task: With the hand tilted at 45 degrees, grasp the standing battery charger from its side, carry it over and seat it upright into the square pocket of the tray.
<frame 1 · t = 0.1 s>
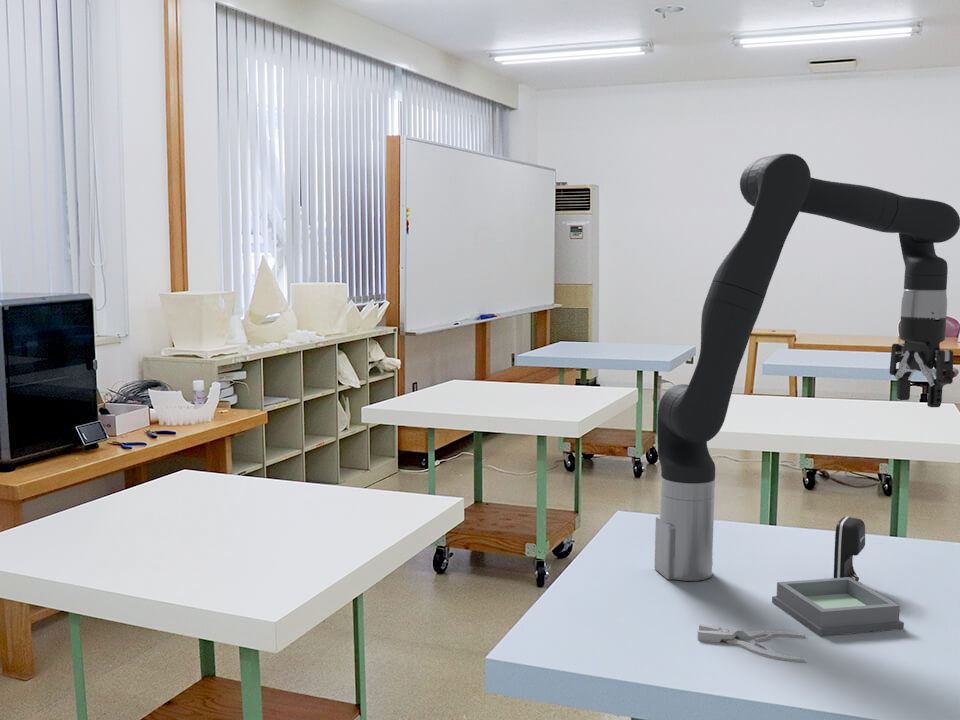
hand: (918, 403, 174), 29 cm above the table, tool pointing down, fingers open, 8 cm apart
tray: (835, 615, 149), on the table
battery charger: (848, 586, 163), on the table
pliers: (750, 645, 139), on the table
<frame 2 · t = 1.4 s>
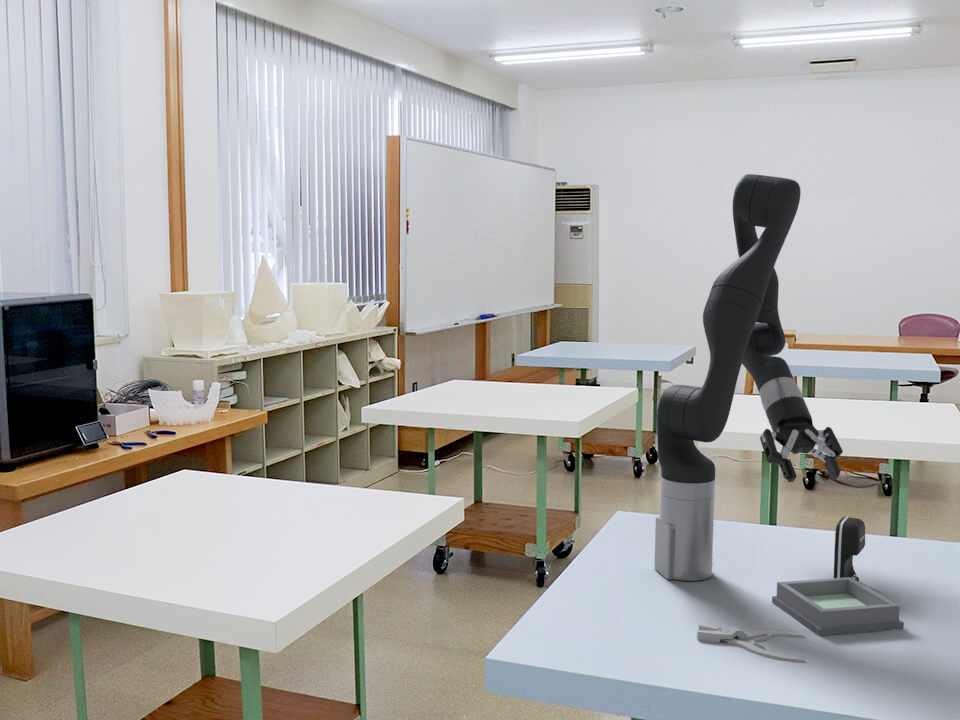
hand: (814, 478, 173), 16 cm above the table, tool tilted 45°, fingers open, 8 cm apart
nothing on the table moved.
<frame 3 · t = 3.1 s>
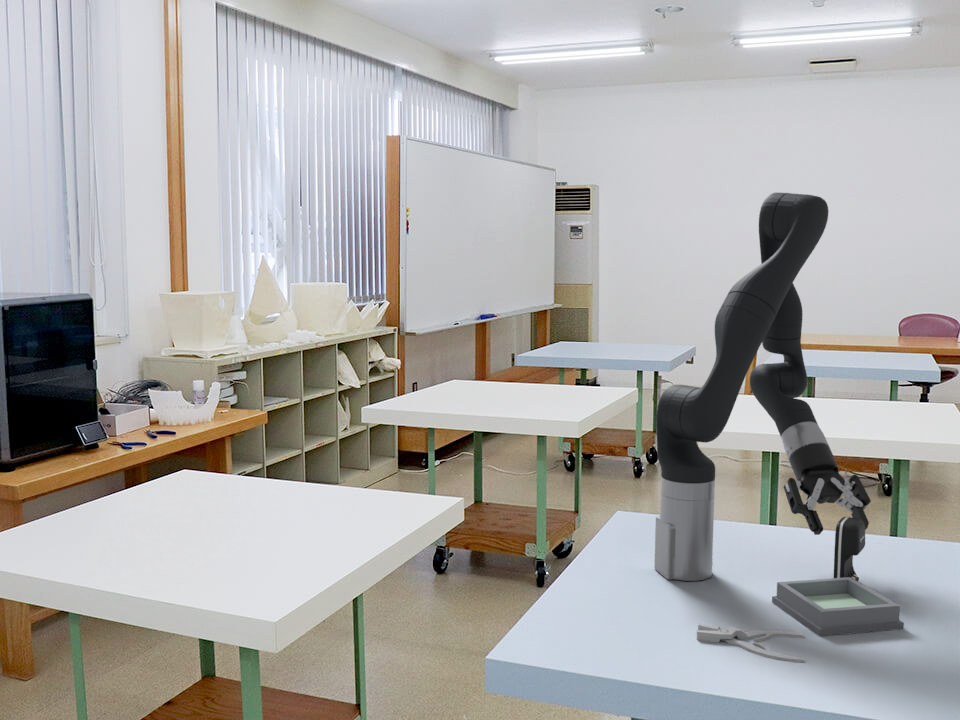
hand: (841, 531, 165), 9 cm above the table, tool tilted 45°, fingers open, 8 cm apart
nothing on the table moved.
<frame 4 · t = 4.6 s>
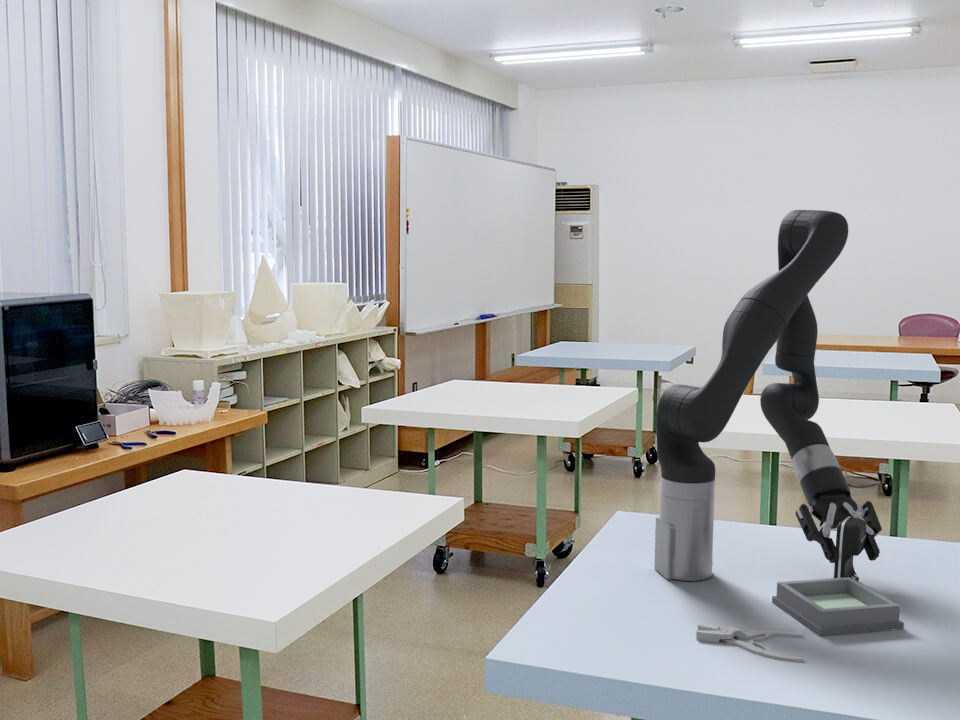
hand: (855, 559, 161), 5 cm above the table, tool tilted 45°, fingers closed on battery charger, 7 cm apart
battery charger: (848, 586, 163), on the table, touching gripper
everything else where it was.
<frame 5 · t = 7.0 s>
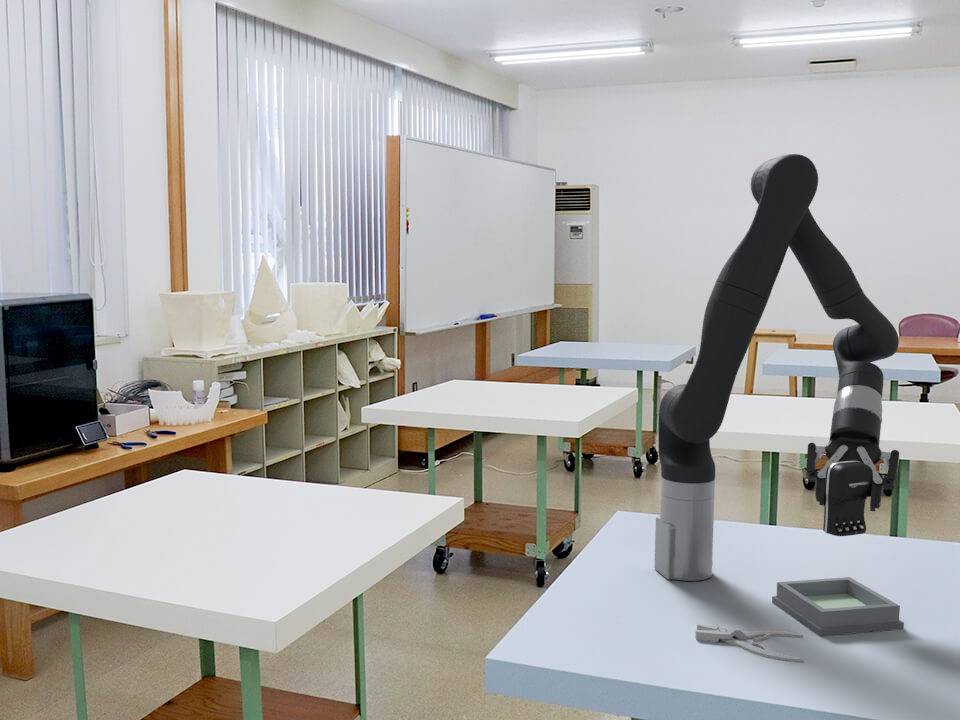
hand: (847, 505, 148), 17 cm above the table, tool tilted 45°, fingers closed on battery charger, 7 cm apart
battery charger: (847, 535, 150), point 12 cm above the table, touching gripper
everything else where it was.
when the fingers open (7 cm above the table, at t = 9.7 s): battery charger drops 1 cm, resting on tray.
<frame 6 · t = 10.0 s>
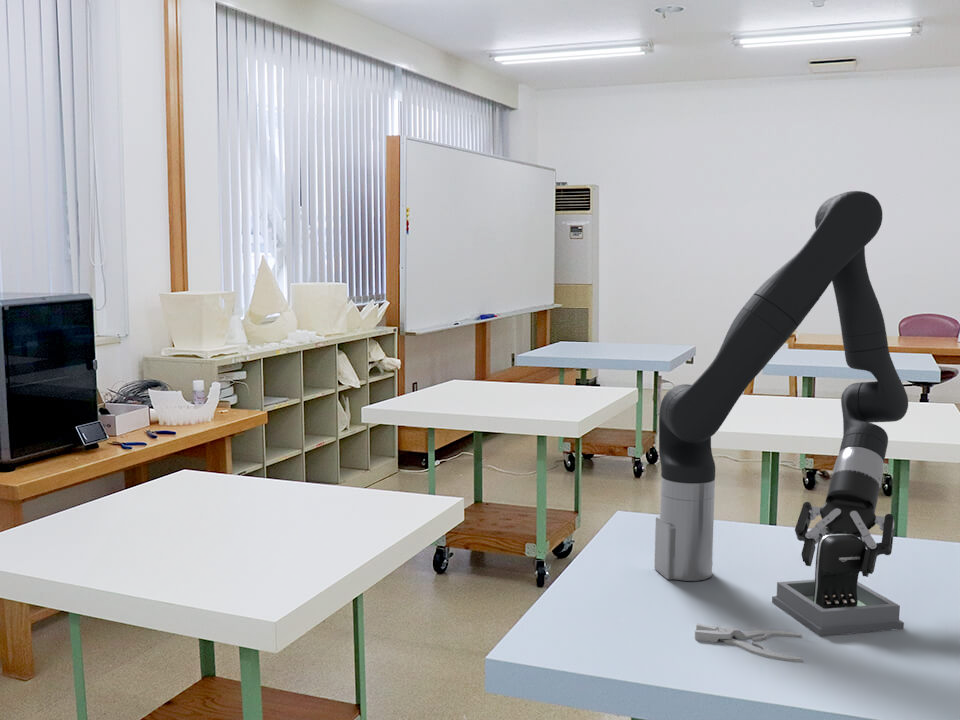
hand: (835, 568, 147), 8 cm above the table, tool tilted 45°, fingers open, 8 cm apart
battery charger: (837, 608, 149), point 1 cm above the table, touching tray
everything else where it was.
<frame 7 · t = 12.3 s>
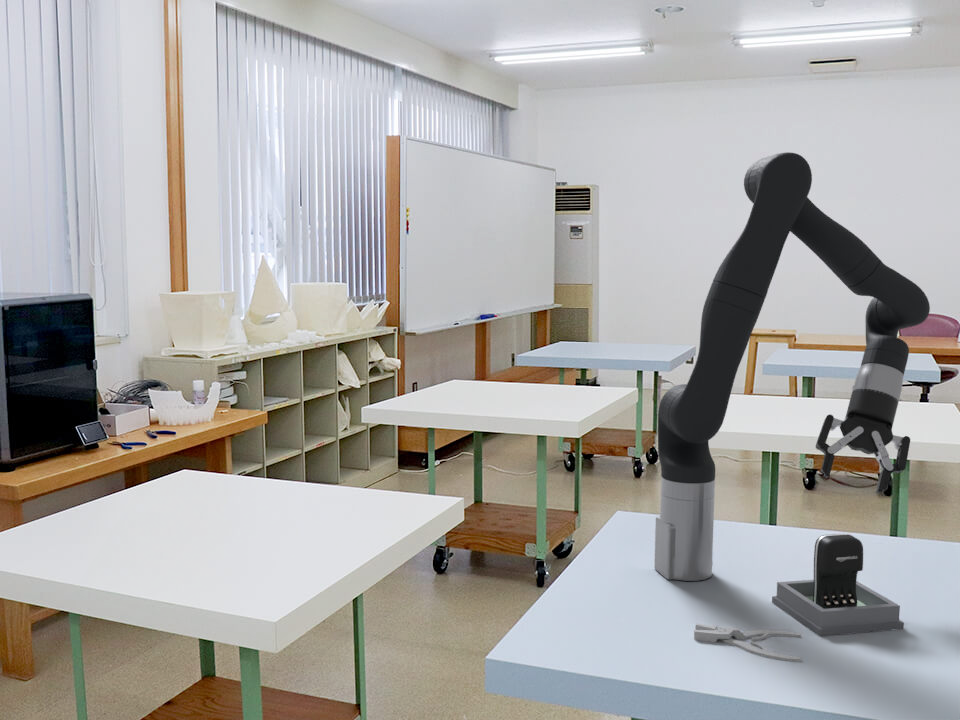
hand: (852, 484, 159), 18 cm above the table, tool tilted 30°, fingers open, 8 cm apart
nothing on the table moved.
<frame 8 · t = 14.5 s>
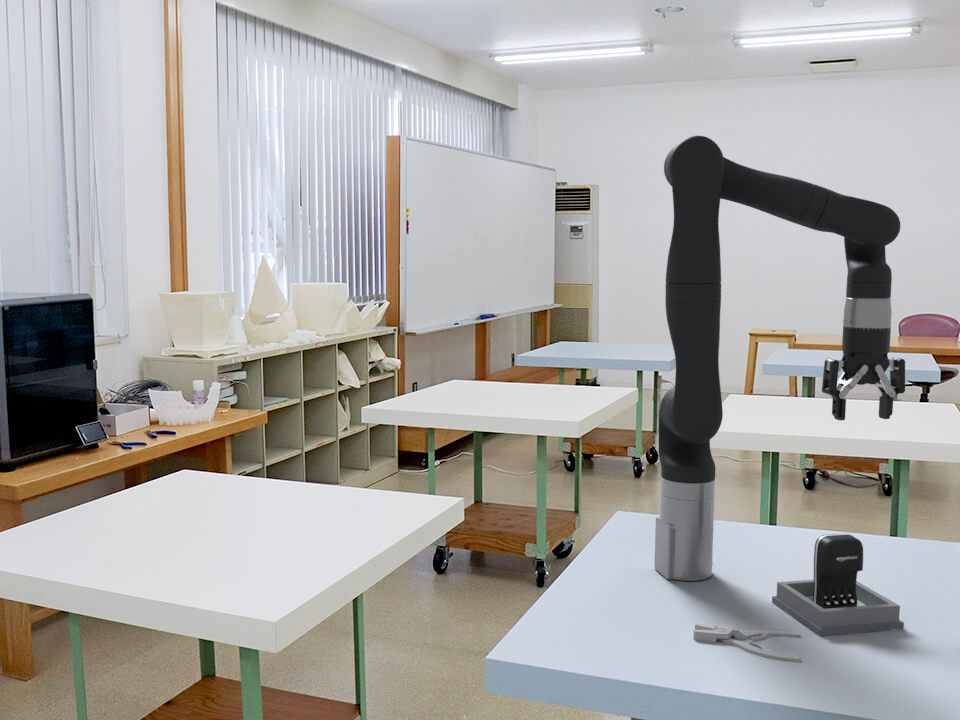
hand: (862, 419, 163), 28 cm above the table, tool pointing down, fingers open, 8 cm apart
nothing on the table moved.
at the end: battery charger inside the target area on the tray (0.3 cm from its centre), point 1.0 cm above the tray's base; battery charger tilted 0°; the gripper is holding nothing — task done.
